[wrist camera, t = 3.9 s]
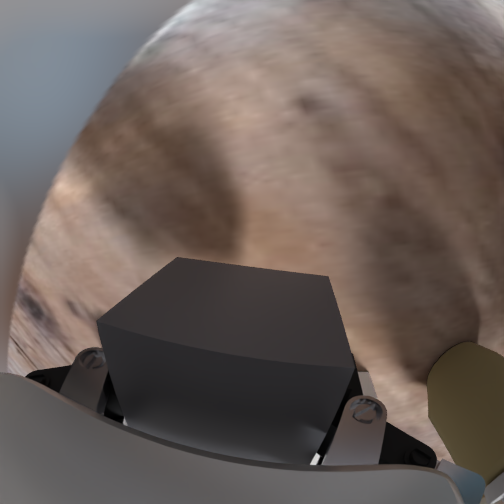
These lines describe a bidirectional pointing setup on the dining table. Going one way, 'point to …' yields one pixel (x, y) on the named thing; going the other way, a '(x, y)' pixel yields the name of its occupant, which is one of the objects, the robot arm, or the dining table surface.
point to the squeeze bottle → (471, 411)
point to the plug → (230, 359)
